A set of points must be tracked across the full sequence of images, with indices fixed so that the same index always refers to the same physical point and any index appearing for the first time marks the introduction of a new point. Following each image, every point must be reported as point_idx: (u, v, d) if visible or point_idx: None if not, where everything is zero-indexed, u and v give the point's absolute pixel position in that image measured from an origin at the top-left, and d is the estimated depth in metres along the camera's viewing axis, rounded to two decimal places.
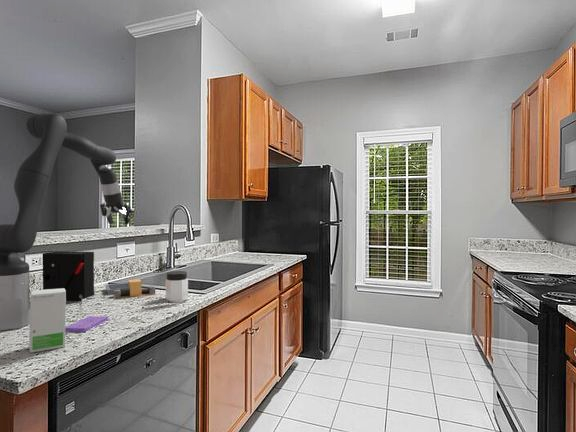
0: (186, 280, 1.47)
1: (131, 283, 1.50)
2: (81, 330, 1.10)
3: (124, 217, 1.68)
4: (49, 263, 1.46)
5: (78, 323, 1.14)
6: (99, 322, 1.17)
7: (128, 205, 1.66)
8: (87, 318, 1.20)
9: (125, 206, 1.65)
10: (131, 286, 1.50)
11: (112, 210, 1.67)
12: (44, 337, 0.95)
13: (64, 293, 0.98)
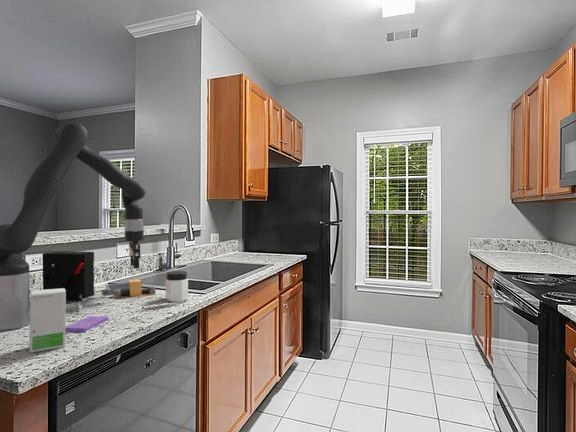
0: (186, 280, 1.47)
1: (131, 283, 1.50)
2: (80, 330, 1.10)
3: None
4: (49, 263, 1.46)
5: (78, 323, 1.14)
6: (99, 322, 1.17)
7: (137, 247, 1.47)
8: (87, 318, 1.20)
9: (133, 247, 1.47)
10: (131, 286, 1.50)
11: (131, 250, 1.53)
12: (44, 336, 0.95)
13: (64, 293, 0.98)
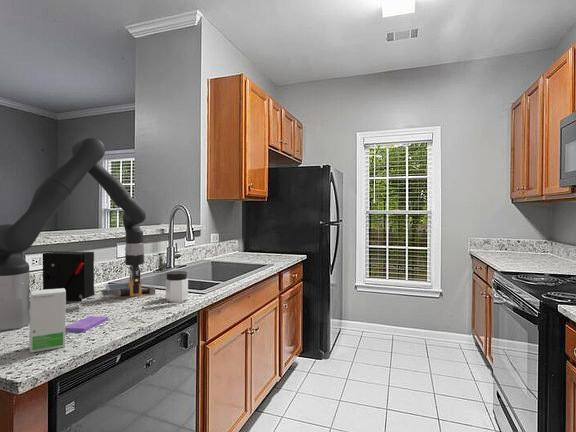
0: (186, 280, 1.47)
1: (131, 283, 1.50)
2: (80, 330, 1.10)
3: (133, 285, 1.50)
4: (49, 263, 1.46)
5: (77, 323, 1.14)
6: (98, 322, 1.17)
7: (137, 273, 1.47)
8: (87, 318, 1.20)
9: (133, 273, 1.47)
10: (131, 286, 1.50)
11: None
12: (44, 337, 0.95)
13: (64, 293, 0.98)
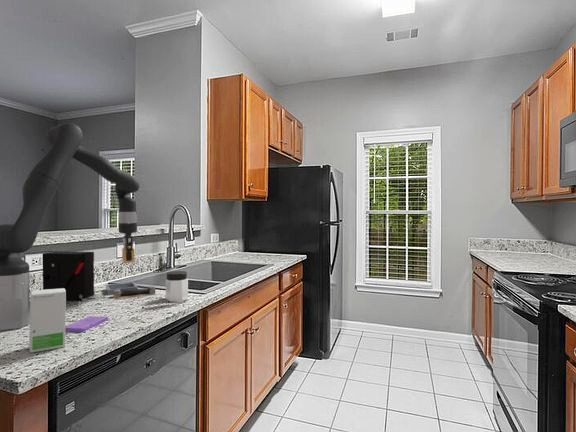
0: (186, 280, 1.47)
1: (124, 250, 1.54)
2: (79, 330, 1.10)
3: (126, 252, 1.55)
4: (49, 263, 1.46)
5: (77, 323, 1.14)
6: (98, 322, 1.17)
7: (130, 240, 1.52)
8: (87, 318, 1.20)
9: (126, 240, 1.52)
10: (124, 253, 1.54)
11: None
12: (44, 337, 0.95)
13: (64, 293, 0.98)
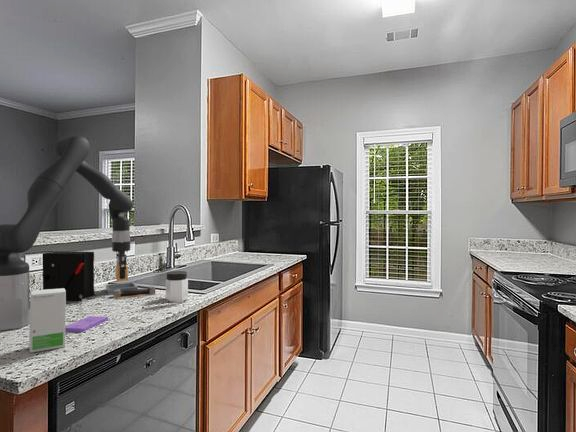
0: (186, 280, 1.47)
1: (118, 268, 1.58)
2: (78, 330, 1.10)
3: None
4: (49, 263, 1.46)
5: (77, 323, 1.14)
6: (98, 322, 1.17)
7: (123, 259, 1.55)
8: (87, 318, 1.20)
9: (120, 258, 1.55)
10: (118, 271, 1.58)
11: None
12: (44, 337, 0.95)
13: (64, 293, 0.98)
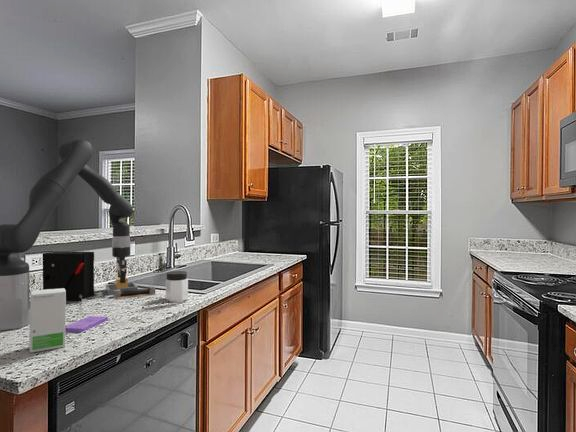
0: (186, 280, 1.47)
1: (118, 280, 1.58)
2: (78, 330, 1.09)
3: (120, 274, 1.57)
4: (49, 263, 1.46)
5: (77, 323, 1.14)
6: (98, 322, 1.17)
7: (123, 262, 1.55)
8: (87, 318, 1.20)
9: (120, 262, 1.55)
10: (118, 283, 1.58)
11: None
12: (44, 336, 0.95)
13: (64, 293, 0.98)
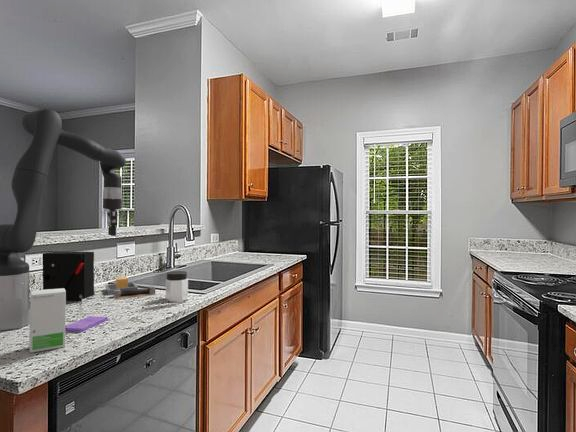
0: (186, 280, 1.47)
1: (118, 280, 1.58)
2: (77, 330, 1.09)
3: (110, 227, 1.50)
4: (49, 263, 1.46)
5: (76, 323, 1.14)
6: (97, 322, 1.17)
7: (114, 213, 1.48)
8: (87, 318, 1.20)
9: (110, 213, 1.48)
10: (118, 283, 1.58)
11: None
12: (44, 337, 0.95)
13: (64, 293, 0.98)
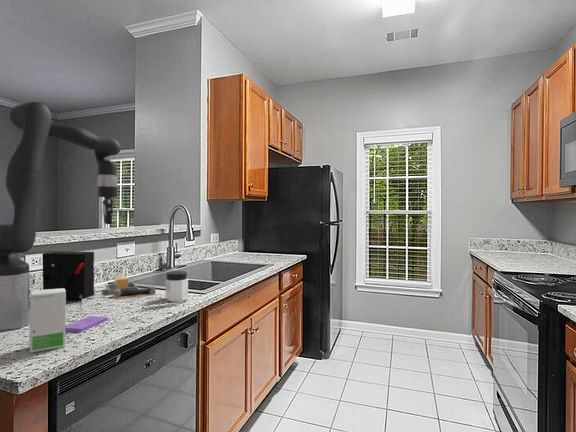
0: (186, 280, 1.47)
1: (118, 280, 1.58)
2: (77, 330, 1.09)
3: (105, 215, 1.47)
4: (49, 263, 1.46)
5: (76, 323, 1.14)
6: (97, 323, 1.16)
7: (109, 201, 1.45)
8: (87, 318, 1.20)
9: (105, 201, 1.45)
10: (118, 283, 1.58)
11: None
12: (44, 337, 0.95)
13: (64, 293, 0.98)
